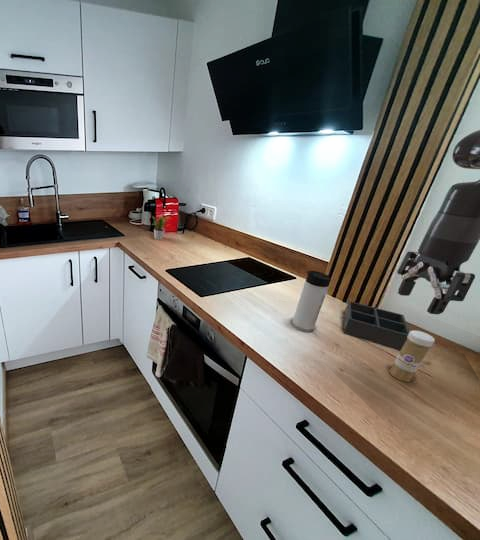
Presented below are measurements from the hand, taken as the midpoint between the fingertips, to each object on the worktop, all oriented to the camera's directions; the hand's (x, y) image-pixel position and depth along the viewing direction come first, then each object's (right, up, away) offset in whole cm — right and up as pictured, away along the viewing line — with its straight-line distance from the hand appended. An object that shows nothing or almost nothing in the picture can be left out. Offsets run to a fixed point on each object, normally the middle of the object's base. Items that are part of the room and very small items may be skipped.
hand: (417, 303), depth 65 cm
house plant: (-43, +27, +118) cm, 128 cm away
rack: (+16, -13, +30) cm, 36 cm away
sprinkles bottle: (+7, -21, +11) cm, 25 cm away
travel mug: (-7, -12, +31) cm, 34 cm away
